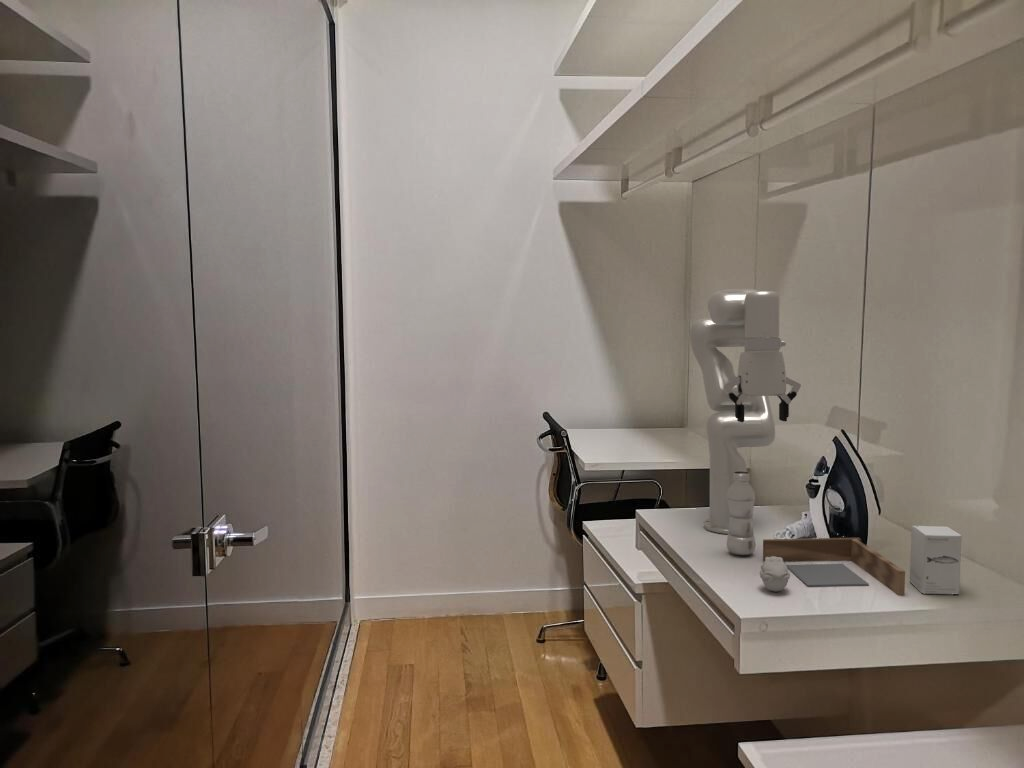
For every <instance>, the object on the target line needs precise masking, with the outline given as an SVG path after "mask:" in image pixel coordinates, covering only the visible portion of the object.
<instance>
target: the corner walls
mask: <svg viewBox="0 0 1024 768" xmlns="http://www.w3.org/2000/svg"><path fill="white" fill-rule="evenodd" d="M762 544H763V545H762V561H763V562H765V558H766V557H772V556H776V557H781V558H782V559H783V562H785V563H786V562H820V561H821V562H825V561H827V562H828V561H852V562H853V563H855V564H856V565H857V566H859V567H860V569H863V571H865V572H866V573H868V574H869V575H871V576H872V577H874V578H875V579H876V580H877V581H878V582H880V583H881V584H882V585H884V586H886V587H887V588H888V589H890V590H891V591H892V592H894V594H896V595H898V596H905V589H906V588H905V587H906V571H905V570H904V569H902V568H901V567H899V566H898V565H897V564H894V563H893V562H892V561H891V560H889V559H887V558H886V557H884V556H883V555H882V554H879V553H878V552H876V550H874V549H872V548H871V547H869V546H868V545H866V544H865V543H863V542H862V539H861V538H860V537H826V538H825V537H824V538H821V537H819V538H813V537H812V538H771V539H769V538H768V539H767V538H766V539H763V540H762Z"/></svg>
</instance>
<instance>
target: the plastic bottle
mask: <svg viewBox="0 0 1024 768" xmlns="http://www.w3.org/2000/svg"><path fill="white" fill-rule="evenodd" d="M733 480H734V482H733V484H732V485H731V486H730V487H729V489H728V491H727V501H728V508H729V532H728V534H727V536H726V548H727V550H728V552H729V553H731V554H732V555H737V556H750V555H752V554H753V553H754V552H755V550H756V549H755V548H756V539H755V535H754V533H755V531H754V524H753V523H754V521H753V520H754V518H753V517H754V508H755V502H756V493H755V490H754V488H753V487H752V486H751V484H750V483H749V482H750V480H751V478H750V472H749V471H747V472H745V471H735V472H733Z"/></svg>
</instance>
